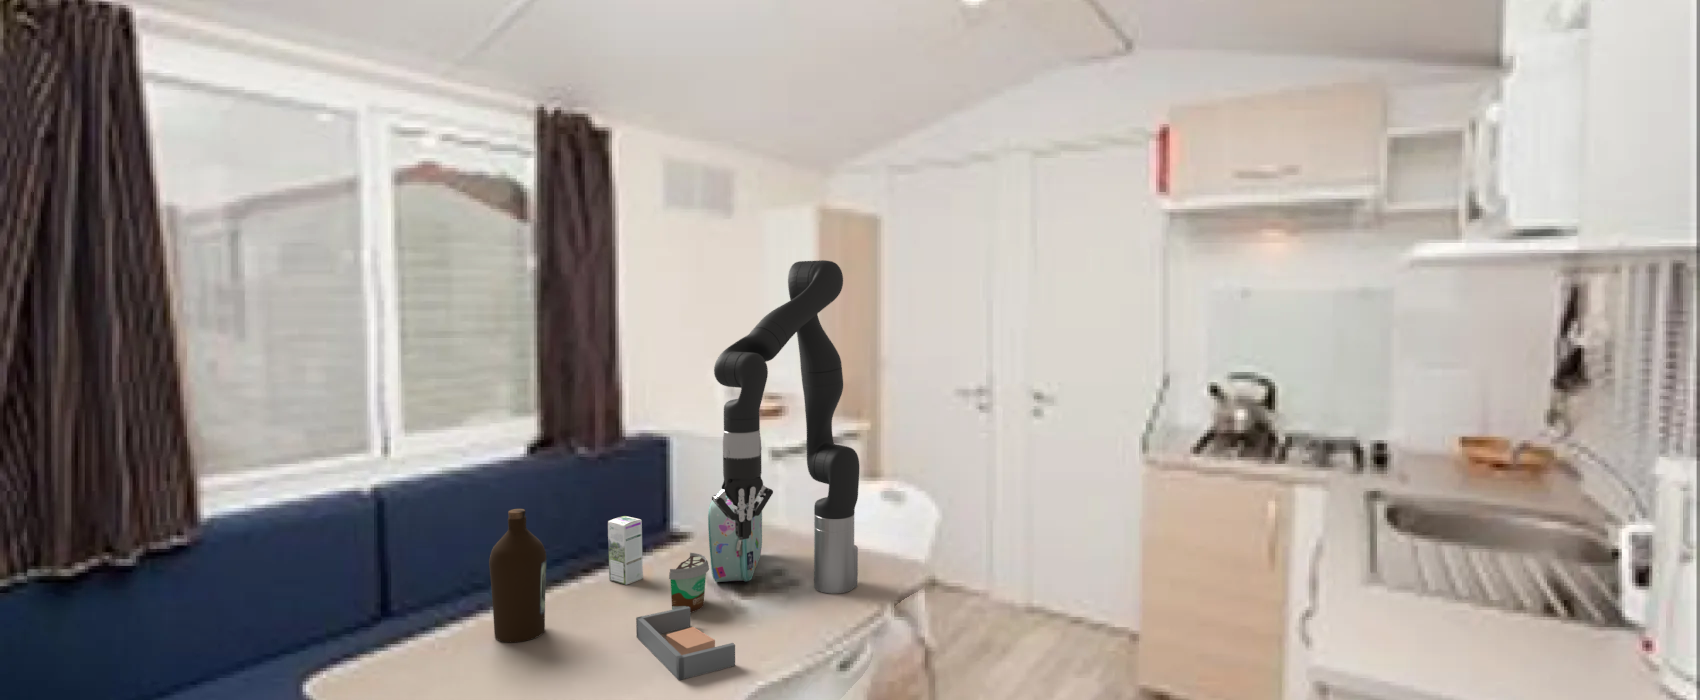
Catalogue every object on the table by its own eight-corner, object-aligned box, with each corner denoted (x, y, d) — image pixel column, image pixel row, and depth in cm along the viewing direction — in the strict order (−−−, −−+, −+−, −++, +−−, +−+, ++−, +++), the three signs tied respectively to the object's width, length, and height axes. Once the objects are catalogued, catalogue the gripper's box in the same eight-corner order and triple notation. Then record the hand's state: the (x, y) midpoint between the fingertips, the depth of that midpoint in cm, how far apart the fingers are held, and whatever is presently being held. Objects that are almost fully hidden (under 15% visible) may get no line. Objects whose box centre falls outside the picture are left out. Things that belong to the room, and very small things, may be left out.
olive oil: (493, 648, 168) (489, 520, 165) (489, 628, 177) (486, 507, 175) (551, 638, 172) (548, 514, 170) (544, 619, 182) (542, 501, 180)
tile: (693, 641, 172) (693, 626, 172) (714, 655, 166) (714, 639, 166) (666, 649, 168) (665, 634, 168) (687, 664, 162) (687, 648, 162)
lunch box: (751, 590, 199) (751, 498, 197) (706, 590, 199) (705, 498, 198) (764, 553, 226) (764, 472, 224) (724, 553, 226) (724, 471, 224)
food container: (696, 618, 183) (696, 572, 182) (669, 616, 184) (668, 569, 183) (717, 597, 195) (717, 553, 194) (691, 595, 196) (691, 551, 195)
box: (688, 625, 179) (688, 606, 179) (735, 665, 161) (735, 644, 160) (636, 636, 173) (636, 617, 173) (678, 680, 155) (678, 658, 154)
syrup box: (643, 578, 207) (643, 518, 205) (625, 585, 202) (624, 524, 200) (626, 573, 210) (625, 514, 208) (607, 581, 205) (606, 520, 203)
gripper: (762, 445, 179) (763, 528, 181) (703, 453, 172) (704, 539, 173) (780, 451, 173) (781, 537, 174) (719, 460, 166) (721, 549, 167)
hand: (743, 538), depth 174 cm, fingers closed
